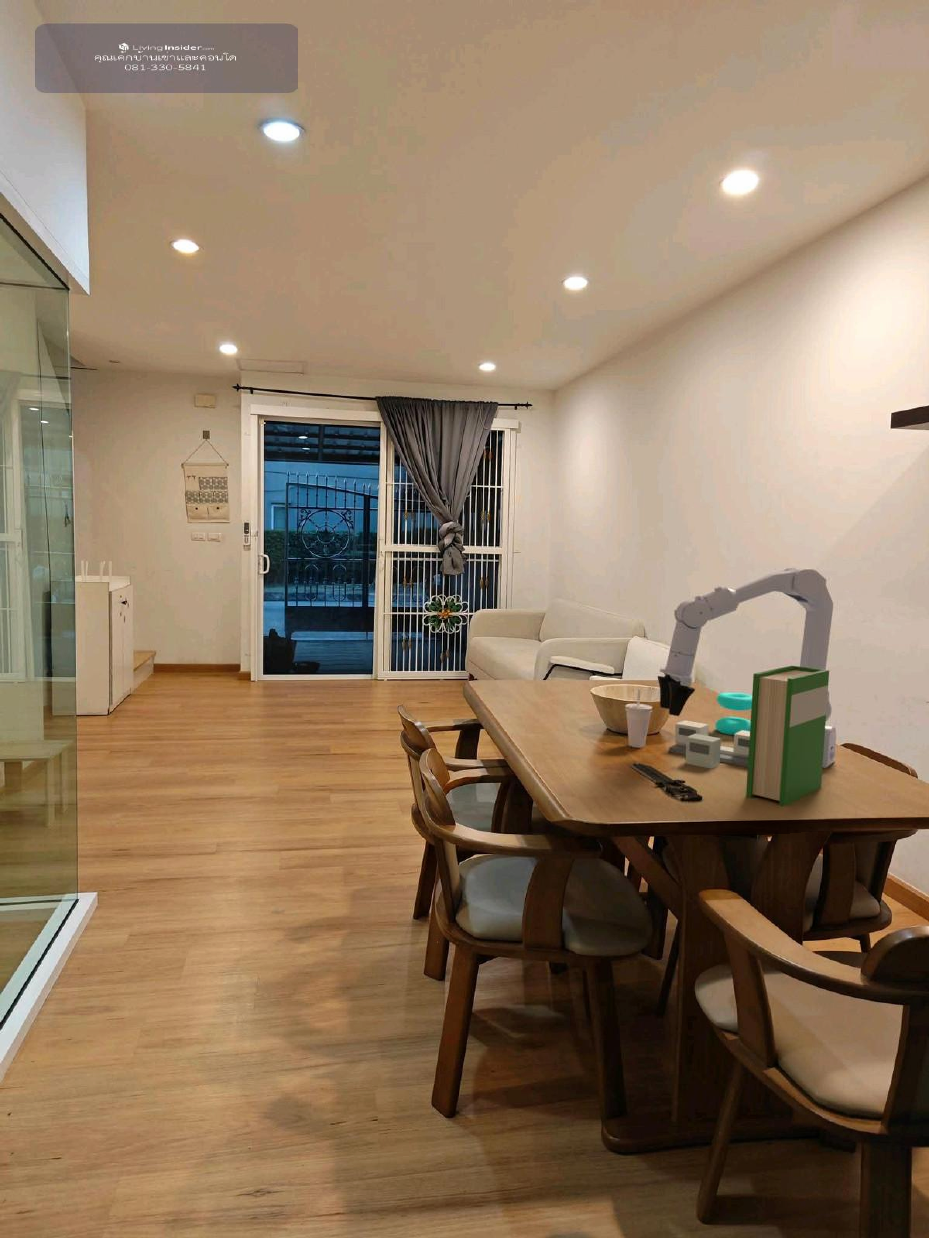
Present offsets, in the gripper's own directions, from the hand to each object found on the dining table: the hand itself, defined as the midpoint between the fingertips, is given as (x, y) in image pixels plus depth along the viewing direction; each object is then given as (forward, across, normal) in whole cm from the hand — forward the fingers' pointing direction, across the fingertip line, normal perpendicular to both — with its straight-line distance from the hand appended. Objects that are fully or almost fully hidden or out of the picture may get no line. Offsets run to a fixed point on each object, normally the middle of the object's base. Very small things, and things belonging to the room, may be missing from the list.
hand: (669, 711), depth 173 cm
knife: (+12, +19, -4) cm, 23 cm away
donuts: (+6, -26, +27) cm, 38 cm away
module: (+9, +5, +8) cm, 14 cm away
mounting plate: (+8, -3, +15) cm, 17 cm away
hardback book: (+8, +24, +18) cm, 31 cm away
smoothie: (+11, -10, -3) cm, 15 cm away
